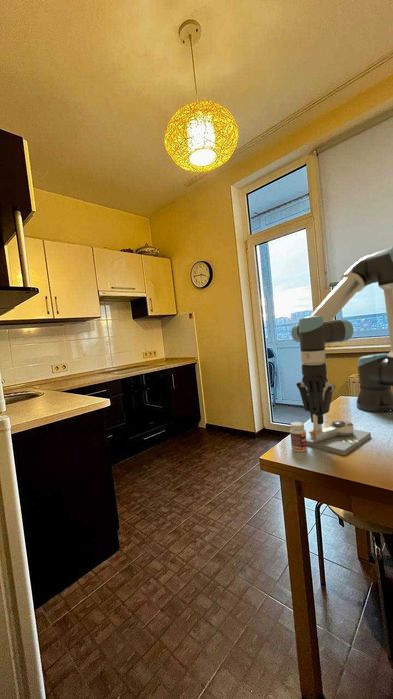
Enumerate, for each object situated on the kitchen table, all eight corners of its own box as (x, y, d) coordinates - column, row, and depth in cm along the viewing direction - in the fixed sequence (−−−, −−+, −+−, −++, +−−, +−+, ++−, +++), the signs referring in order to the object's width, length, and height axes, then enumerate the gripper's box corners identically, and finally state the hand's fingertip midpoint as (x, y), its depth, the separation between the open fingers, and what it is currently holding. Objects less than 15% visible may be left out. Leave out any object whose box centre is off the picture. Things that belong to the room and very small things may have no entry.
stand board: (332, 429, 107) (332, 424, 107) (372, 437, 96) (372, 432, 96) (305, 444, 96) (304, 439, 96) (346, 455, 85) (345, 450, 85)
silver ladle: (341, 427, 103) (340, 417, 102) (358, 433, 96) (357, 422, 96) (305, 438, 97) (304, 427, 96) (321, 445, 90) (320, 433, 90)
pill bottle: (305, 453, 90) (303, 426, 90) (290, 451, 93) (287, 425, 92) (308, 447, 94) (306, 421, 94) (293, 445, 97) (291, 420, 96)
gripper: (289, 364, 98) (294, 431, 100) (325, 365, 88) (330, 441, 90) (302, 361, 103) (307, 425, 104) (338, 362, 92) (342, 434, 94)
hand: (318, 432), depth 97 cm, fingers closed
